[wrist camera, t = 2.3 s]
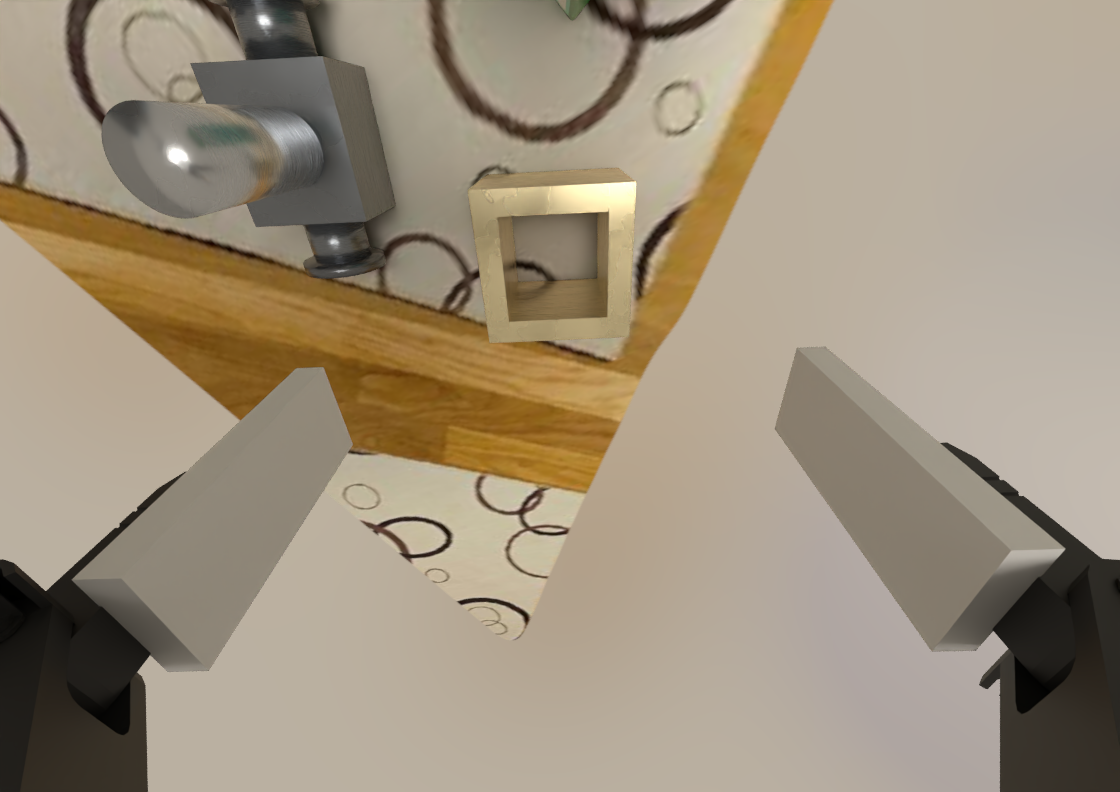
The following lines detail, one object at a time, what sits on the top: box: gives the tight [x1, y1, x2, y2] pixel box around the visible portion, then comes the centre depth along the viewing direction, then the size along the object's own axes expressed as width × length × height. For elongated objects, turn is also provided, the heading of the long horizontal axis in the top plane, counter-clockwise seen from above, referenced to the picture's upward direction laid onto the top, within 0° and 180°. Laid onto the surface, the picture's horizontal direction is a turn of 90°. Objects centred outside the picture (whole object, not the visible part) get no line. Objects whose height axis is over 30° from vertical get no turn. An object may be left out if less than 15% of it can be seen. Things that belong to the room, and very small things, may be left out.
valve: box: [102, 0, 396, 278], centre depth 20 cm, size 13×6×13 cm, turn 3°
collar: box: [468, 168, 636, 343], centre depth 26 cm, size 8×8×7 cm
